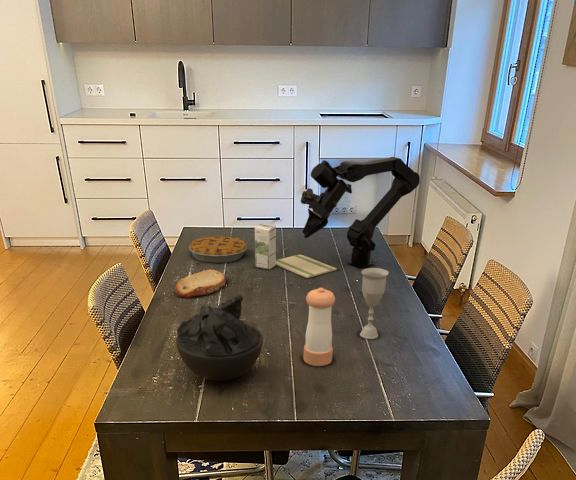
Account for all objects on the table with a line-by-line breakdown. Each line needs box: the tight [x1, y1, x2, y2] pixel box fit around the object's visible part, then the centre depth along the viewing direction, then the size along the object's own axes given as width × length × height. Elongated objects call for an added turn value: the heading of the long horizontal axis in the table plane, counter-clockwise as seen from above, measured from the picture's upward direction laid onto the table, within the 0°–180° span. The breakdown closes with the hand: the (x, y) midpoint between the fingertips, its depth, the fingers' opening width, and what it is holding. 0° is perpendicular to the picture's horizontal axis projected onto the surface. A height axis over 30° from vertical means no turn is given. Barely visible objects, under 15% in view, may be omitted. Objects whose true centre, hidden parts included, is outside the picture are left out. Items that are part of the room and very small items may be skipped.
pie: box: [188, 235, 248, 264], centre depth 218 cm, size 22×22×5 cm
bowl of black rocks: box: [175, 294, 264, 382], centre depth 136 cm, size 20×20×19 cm
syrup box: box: [254, 223, 277, 270], centre depth 206 cm, size 6×6×14 cm
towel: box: [275, 253, 338, 279], centre depth 210 cm, size 14×20×1 cm
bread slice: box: [174, 269, 227, 299], centre depth 190 cm, size 18×18×4 cm
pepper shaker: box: [302, 287, 336, 367], centre depth 144 cm, size 7×7×19 cm
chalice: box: [359, 267, 390, 340], centre depth 157 cm, size 7×7×18 cm
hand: (304, 235), depth 196 cm, fingers open, 9 cm apart
